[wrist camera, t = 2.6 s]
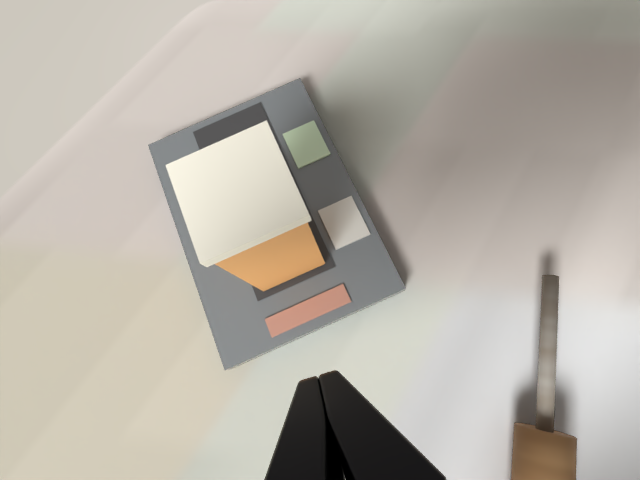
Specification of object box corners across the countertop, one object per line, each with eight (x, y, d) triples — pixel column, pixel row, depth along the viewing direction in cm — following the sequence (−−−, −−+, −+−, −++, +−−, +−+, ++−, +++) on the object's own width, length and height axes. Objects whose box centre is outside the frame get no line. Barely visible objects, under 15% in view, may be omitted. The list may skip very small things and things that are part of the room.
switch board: (403, 290, 21) (406, 287, 20) (231, 369, 21) (223, 370, 19) (302, 88, 25) (299, 76, 24) (156, 152, 24) (147, 143, 23)
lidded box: (329, 265, 20) (309, 214, 12) (261, 295, 20) (199, 263, 12) (300, 202, 21) (266, 120, 13) (237, 231, 21) (165, 165, 13)
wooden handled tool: (554, 606, 17) (585, 648, 14) (495, 590, 17) (517, 629, 15) (564, 284, 20) (591, 276, 18) (515, 276, 20) (535, 267, 18)
